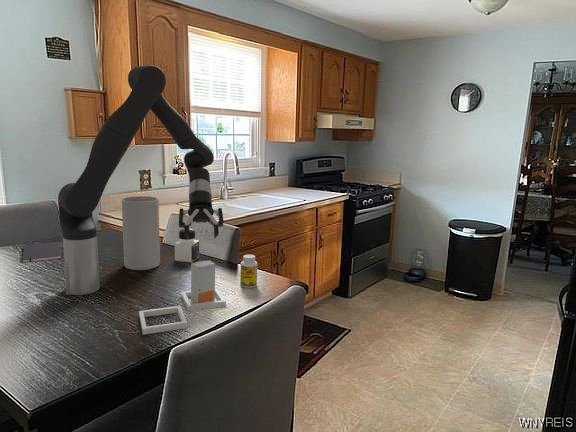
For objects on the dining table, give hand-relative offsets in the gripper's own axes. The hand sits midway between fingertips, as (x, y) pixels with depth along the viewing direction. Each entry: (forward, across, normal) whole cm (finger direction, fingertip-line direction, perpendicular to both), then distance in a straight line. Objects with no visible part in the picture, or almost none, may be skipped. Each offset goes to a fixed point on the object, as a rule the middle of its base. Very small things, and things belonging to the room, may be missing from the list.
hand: (201, 237), depth 132 cm
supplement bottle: (+13, +15, +12) cm, 23 cm away
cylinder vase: (-5, -21, +29) cm, 36 cm away
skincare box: (+20, 0, +4) cm, 21 cm away
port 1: (+29, -11, -5) cm, 31 cm away
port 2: (+20, 0, +4) cm, 20 cm away
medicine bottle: (-9, -5, +33) cm, 35 cm away
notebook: (-19, -60, +44) cm, 77 cm away
